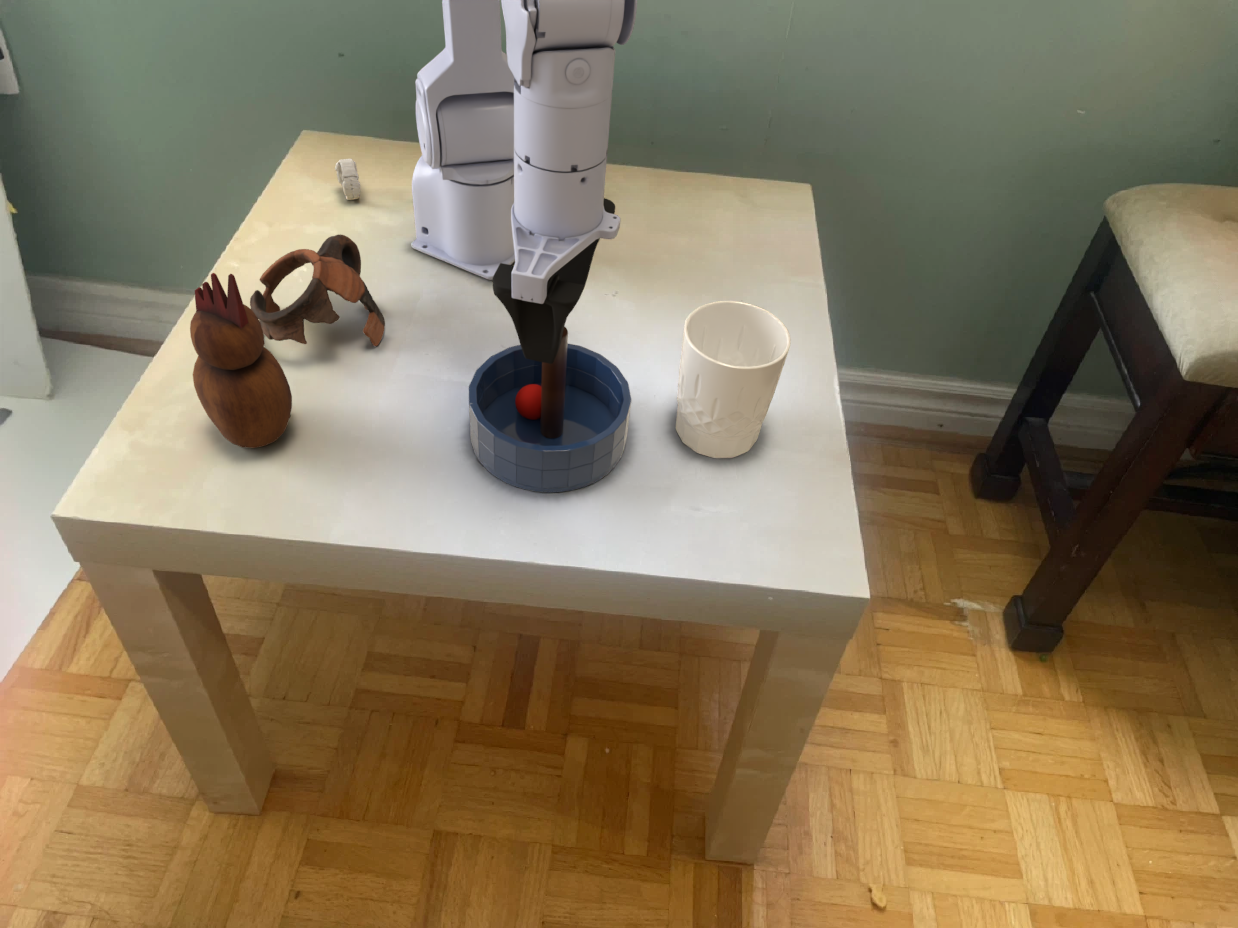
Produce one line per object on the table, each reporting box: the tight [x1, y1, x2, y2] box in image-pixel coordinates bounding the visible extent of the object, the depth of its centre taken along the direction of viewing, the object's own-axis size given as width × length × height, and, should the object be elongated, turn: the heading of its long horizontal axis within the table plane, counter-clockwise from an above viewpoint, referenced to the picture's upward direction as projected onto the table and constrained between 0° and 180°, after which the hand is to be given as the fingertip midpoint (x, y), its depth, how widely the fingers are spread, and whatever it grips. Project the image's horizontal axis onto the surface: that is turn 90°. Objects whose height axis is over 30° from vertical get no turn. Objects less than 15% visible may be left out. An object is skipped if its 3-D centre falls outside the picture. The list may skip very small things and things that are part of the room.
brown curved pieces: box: [249, 234, 386, 347], centre depth 78 cm, size 12×10×8 cm
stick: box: [540, 325, 569, 439], centre depth 68 cm, size 2×2×10 cm
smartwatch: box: [334, 158, 362, 201], centre depth 92 cm, size 4×2×4 cm, turn 20°
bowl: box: [468, 343, 632, 493], centre depth 71 cm, size 12×12×4 cm
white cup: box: [675, 300, 792, 459], centre depth 71 cm, size 8×8×10 cm
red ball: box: [515, 384, 541, 420], centre depth 72 cm, size 3×3×3 cm
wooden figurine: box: [189, 272, 293, 449], centre depth 65 cm, size 7×6×15 cm
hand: (554, 324), depth 66 cm, fingers open, 7 cm apart
